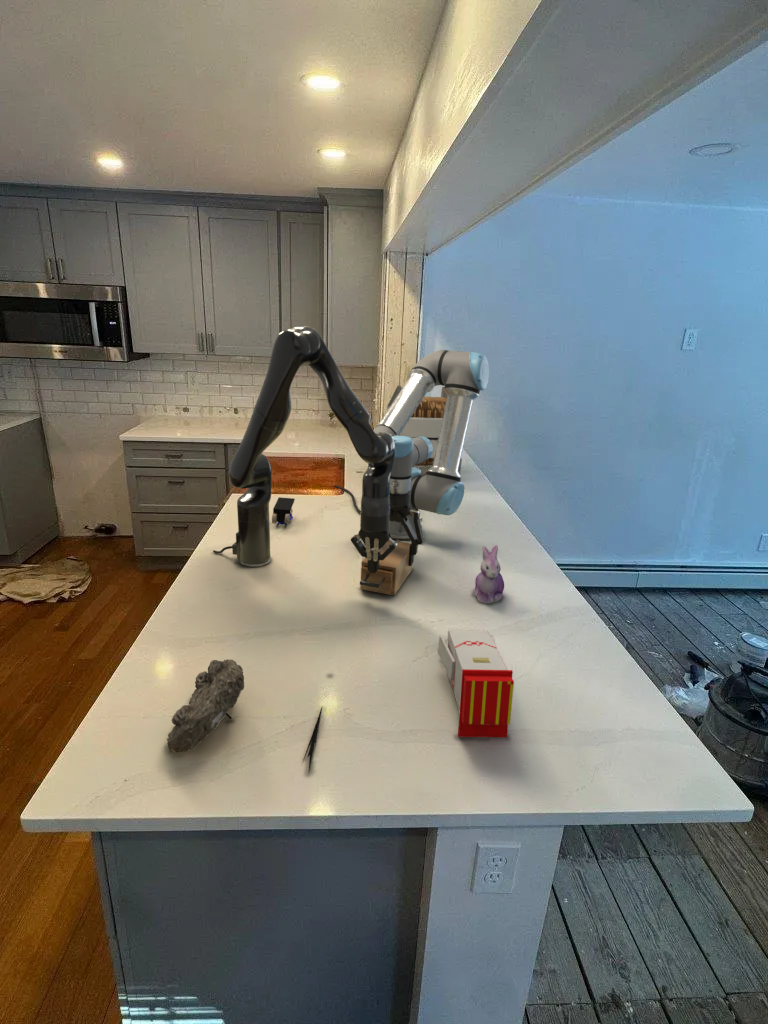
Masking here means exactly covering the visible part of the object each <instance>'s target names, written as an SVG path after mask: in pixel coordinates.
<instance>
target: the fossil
mask: <svg viewBox="0 0 768 1024" xmlns="http://www.w3.org/2000/svg"><path fill="white" fill-rule="evenodd" d="M243 670H244V669H243V667H242V665H240V664H237V662H236V661H235V660H234V659H232V658H231V659H227V658H226V659H224V660H223V661H222V660H217V659H212V660H211V661H210V663H209V665H208V666H207V671H201V672H199V673H198V674H197V675H196V676H195V680H194V684H195V685H194V687H195V689H194V690H193V693H192V694H191V697H190V698H189V700H188V704H184V705H182V706H181V707H180V709H177V710H176V711H175V713H174V715H173V716H172V718H171V723H172V724H173V727H172V730H171V731H170V732H168V734H167V738H166V741H167V742H166V745H167V749H168V750H169V751H173V752H174V753H176V754H178V753H182V752H188V751H189V752H192V751H193V750H195V748H196V747H197V746H199V744H200V743H201V742H203V741H204V740H205V739H206V738H207V737H208V736H209V735H210V734H211V733H212V732H214V730H215V729H217V727H218V726H219V724H220V722H221V721H222V720H223V719H224V718H225V716H226V717H227V719H229V720H233V717H232V715H230V714H229V710H230V709H231V708H234V706H235V704H236V703H237V702H238V699H239V697H240V695H241V693H242V691H243V690H245V689H244V688H245V675H244V671H243Z"/></svg>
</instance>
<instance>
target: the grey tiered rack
mask: <svg viewBox="0 0 768 1024" xmlns="http://www.w3.org/2000/svg"><path fill="white" fill-rule="evenodd" d="M402 388H403V387H402V385H399V384H398V385H397V386H396V388H395V390H394V392H393V394H392V395H391V398H390V400H389V402H388V404H387V405H386V411H387V410H388V409H389V407H390V406H391V404H392V403H393V401H394V400H395V398H396V397H397V395H398V394H399V393H400V391H401V390H402ZM444 388H445V386H442V387H441V392H440V393H441V394H440V396H424V398H423V399H422V401H421V402H420V404H419V406H418V407H417V409H416V410H415V412H414V413H413V415H412V416H411V418H410V419H409V421H408V423H407V424H406V426H405V427H404V429H403V430H402V432H401V433H400V435H399V436H407V437H410V438H415V437H420V436H423V437H426V438H428V439H429V440H430V441H431V443H432V446H433V453H432V455H431V457H430V458H429V459H427V460H426V461H424V462H423V463H419V464H417V465H414V466H413V467H417V466H418V467H432V466H433V461H434V457H435V452H436V447H437V443H438V438H439V433H440V429H441V424H442V419H443V414H444V410H445V405H446V400H447V394H446V392H445V391H444ZM462 461H463V460H462V457H461V458H460V463H459V468H458V473H459V475H460V476H461V472H462Z"/></svg>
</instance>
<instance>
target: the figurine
mask: <svg viewBox="0 0 768 1024" xmlns="http://www.w3.org/2000/svg"><path fill="white" fill-rule="evenodd" d="M481 551H482V561H481V563H480V566H479V567H480V572H479V573H478V574H477V575H476V576H475V582H474V583H475V584H474V591H473V594H474V597H476V598H477V600H478V602H480V603H485V604H493V603H494V602H495V603H496V602H499V601H500V600H501V599H502V597H503V594H504V591H505V580H504V578H503V575H502V574H501V570H502V569H501V564H500V562H499V560H498V552H499V545H497V544H495V545H494V546H492V548H491V551H490V552H489V549H488V548H487V546H485V545H483V546H482V548H481Z"/></svg>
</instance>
